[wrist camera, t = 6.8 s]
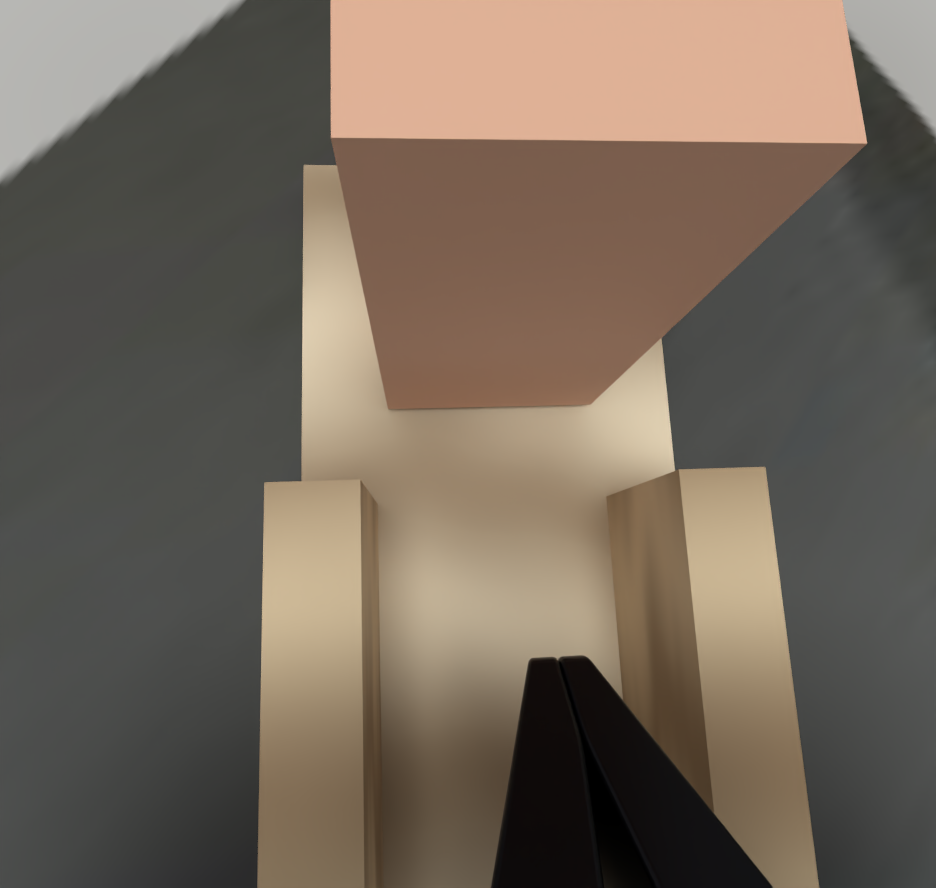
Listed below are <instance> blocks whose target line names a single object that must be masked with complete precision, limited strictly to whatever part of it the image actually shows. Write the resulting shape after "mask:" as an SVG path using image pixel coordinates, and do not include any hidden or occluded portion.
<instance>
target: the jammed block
mask: <svg viewBox="0 0 936 888" xmlns="http://www.w3.org/2000/svg"><path fill="white" fill-rule="evenodd" d="M331 140H332V145H333V150H334V154H335V159H336V164H337V169H338V173H339V178H340V183H341V188H342V192H343V197H344V202H345V207H346V211H347V216H348V221H349V226H350V231H351V235H352V240H353V245H354V250H355V254H356V259H357V264H358V269H359V273H360V278H361V283H362V288H363V293H364V297H365V302H366V307H367V312H368V316H369V321H370V326H371V331H372V335H373V340H374V345H375V350H376V354H377V359H378V364H379V369H380V374H381V378H382V383H383V388H384V393H385V397H386V402H387V407H388V409H415V408H460V407H504V406H548V405H591V404H592V403H593V402H594V401H595V400H596V399H597V398H598V397H599V396H600V395H601V394H602V393H603V392H604V391H606V390H607V389H608V388H609V387H610V386H611V385H612V384H613V383H614V382H615V381H616V380H617V379H618V378H619V377H620V376H621V375H622V374H624V373H625V372H626V371H627V370H628V369H629V368H630V367H631V366H632V365H633V364H634V363H635V362H636V361H637V360H638V359H639V358H640V357H642V356H643V355H644V354H645V353H646V352H647V351H648V350H649V349H650V348H651V347H652V346H653V345H654V344H655V343H656V342H657V341H658V340H660V339H661V338H662V337H663V336H664V335H665V334H666V333H667V332H668V331H669V330H670V329H671V328H672V327H673V326H674V325H675V324H676V323H678V322H679V321H680V320H681V319H682V318H683V317H684V316H685V315H686V314H687V313H688V312H689V311H690V310H691V309H692V308H693V307H694V306H696V305H697V304H698V303H699V302H700V301H701V300H702V299H703V298H704V297H705V296H706V295H707V294H708V293H709V292H710V291H711V290H713V289H714V288H715V287H716V286H717V285H718V284H719V283H720V282H721V281H722V280H723V279H724V278H725V277H726V276H727V275H728V274H729V273H731V272H732V271H733V270H734V269H735V268H736V267H737V266H738V265H739V264H740V263H741V262H742V261H743V260H744V259H745V258H746V257H747V256H749V255H750V254H751V253H752V252H753V251H754V250H755V249H756V248H757V247H758V246H759V245H760V244H761V243H762V242H763V241H764V240H765V239H767V238H768V237H769V236H770V235H771V234H772V233H773V232H774V231H775V230H776V229H777V228H778V227H779V226H780V225H781V224H782V223H783V222H785V221H786V220H787V219H788V218H789V217H790V216H791V215H792V214H793V213H794V212H795V211H796V210H797V209H798V208H799V207H800V206H801V205H803V204H804V203H805V202H806V201H807V200H808V199H809V198H810V197H811V196H812V195H813V194H814V193H815V192H816V191H817V190H818V189H819V188H821V187H822V186H823V185H824V184H825V183H826V182H827V181H828V180H829V179H830V178H831V177H832V176H833V175H834V174H835V173H836V172H837V171H839V170H840V169H841V168H842V167H843V166H844V165H845V164H846V163H847V162H848V161H849V160H850V159H851V158H852V157H853V156H854V155H855V154H857V153H858V152H859V151H860V150H861V149H862V148H863V147H864V146H865V145H866V144H867V140H866V134H865V128H864V123H863V117H862V111H861V105H860V100H859V94H858V88H857V82H856V77H855V71H854V65H853V60H852V54H851V48H850V42H849V37H848V31H847V25H846V19H845V14H844V8H843V3H842V0H331Z"/></svg>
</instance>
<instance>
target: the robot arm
mask: <svg viewBox="0 0 936 888" xmlns="http://www.w3.org/2000/svg"><path fill="white" fill-rule="evenodd" d="M491 888H773V887H772V885H771V884H770V882H769V881H768V880H767V879H766V877H765V876H764V875H763V874H762V872H761V871H760V870H759V869H758V868H757V866H756V865H755V864H754V863H753V861H752V860H751V859H750V858H749V856H748V855H747V854H746V853H745V851H744V850H743V849H742V848H741V846H740V845H739V844H738V843H737V841H736V840H735V839H734V838H733V836H732V835H731V834H730V833H729V831H728V830H727V829H726V828H725V826H724V825H723V824H722V823H721V821H720V820H719V819H718V818H717V817H716V815H715V814H714V813H713V812H712V810H711V809H710V808H709V807H708V805H707V804H706V803H705V802H704V800H703V799H702V798H701V797H700V795H699V794H698V793H697V792H696V790H695V789H694V788H693V787H692V785H691V784H690V783H689V782H688V780H687V779H686V778H685V777H684V775H683V774H682V773H681V772H680V770H679V769H678V768H677V767H676V765H675V764H674V763H673V762H672V761H671V759H670V758H669V757H668V756H667V754H666V753H665V752H664V751H663V749H662V748H661V747H660V746H659V744H658V743H657V742H656V741H655V739H654V738H653V737H652V736H651V734H650V733H649V732H648V731H647V729H646V728H645V727H644V726H643V724H642V723H641V722H640V721H639V719H638V718H637V717H636V716H635V714H634V713H633V712H632V711H631V710H630V708H629V707H628V706H627V705H626V703H625V702H624V701H623V700H622V698H621V697H620V696H619V695H618V693H617V692H616V691H615V690H614V688H613V687H612V686H611V685H610V683H609V682H608V681H607V680H606V678H605V677H604V676H603V675H602V673H601V672H600V671H599V670H598V668H597V667H596V666H595V665H594V663H593V662H592V661H591V660H590V659H589V658H588V657H586V656H584V655H575V656H562V657H560V658H559V659H558V660H557V659H556V658H555V657H538V658H531V659H530V660H529V661H528V666H527V672H526V678H525V684H524V690H523V696H522V702H521V708H520V714H519V720H518V726H517V732H516V738H515V744H514V750H513V756H512V762H511V768H510V774H509V780H508V786H507V792H506V798H505V804H504V810H503V816H502V822H501V828H500V835H499V841H498V847H497V853H496V859H495V865H494V871H493V877H492V883H491Z"/></svg>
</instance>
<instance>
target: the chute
mask: <svg viewBox="0 0 936 888" xmlns="http://www.w3.org/2000/svg"><path fill="white" fill-rule="evenodd" d="M575 655H584V656H586V657H588V658H589V659H590V660H591V661H592V662H593V663H594V665H595V666H596V667H597V668H598V670H599V671H600V672H601V673H602V675H603V676H604V677H605V678H606V680H607V681H608V682H609V683H610V685H611V686H612V687H613V688H614V690H615V691H616V692H617V693H618V695H619V696H620V697H621V698H622V700H623V701H624V702H625V703H626V705H627V706H628V707H629V708H630V710H631V711H632V712H633V713H634V714H635V716H636V717H637V718H638V719H639V721H640V722H641V723H642V724H643V726H644V727H645V728H646V729H647V731H648V732H649V733H650V734H651V736H652V737H653V738H654V739H655V741H656V742H657V743H658V744H659V746H660V747H661V748H662V749H663V751H664V752H665V753H666V754H667V756H668V757H669V758H670V759H671V761H672V762H673V763H674V764H675V765H676V767H677V768H678V769H679V770H680V772H681V773H682V774H683V775H684V777H685V778H686V779H687V780H688V782H689V783H690V784H691V785H692V787H693V788H694V789H695V790H696V792H697V793H698V794H699V795H700V797H701V798H702V799H703V800H704V802H705V803H706V804H707V805H708V807H709V808H710V809H711V810H712V812H713V813H714V814H715V815H716V817H717V818H718V819H719V820H720V821H721V823H722V824H723V825H724V826H725V828H726V829H727V830H728V831H729V833H730V834H731V835H732V836H733V838H734V839H735V840H736V841H737V843H738V844H739V845H740V846H741V848H742V849H743V850H744V851H745V853H746V854H747V855H748V856H749V858H750V859H751V860H752V861H753V863H754V864H755V865H756V866H757V868H758V869H759V870H760V871H761V872H762V874H763V875H764V876H765V877H766V879H767V880H768V881H769V882H770V884H771V885H772V887H773V888H819V882H818V874H817V867H816V859H815V851H814V843H813V835H812V828H811V820H810V812H809V804H808V796H807V789H806V781H805V773H804V765H803V757H802V750H801V742H800V734H799V726H798V718H797V711H796V703H795V695H794V687H793V679H792V672H791V664H790V656H789V648H788V640H787V633H786V625H785V617H784V609H783V601H782V594H781V586H780V578H779V570H778V562H777V555H776V547H775V539H774V531H773V523H772V516H771V508H770V500H769V492H768V484H767V477H766V469H765V467H745V468H712V469H680V470H676V471H675V467H674V457H673V448H672V438H671V428H670V418H669V408H668V399H667V389H666V379H665V369H664V359H663V349H662V340H661V339H660V340H658V341H657V342H656V343H655V344H654V345H653V346H652V347H651V348H650V349H649V350H648V351H647V352H646V353H645V354H644V355H643V356H642V357H640V358H639V359H638V360H637V361H636V362H635V363H634V364H633V365H632V366H631V367H630V368H629V369H628V370H627V371H626V372H625V373H624V374H622V375H621V376H620V377H619V378H618V379H617V380H616V381H615V382H614V383H613V384H612V385H611V386H610V387H609V388H608V389H607V390H606V391H604V392H603V393H602V394H601V395H600V396H599V397H598V398H597V399H596V400H595V401H594V402H593V403H592V404H591V405H548V406H504V407H460V408H415V409H388V407H387V402H386V397H385V393H384V388H383V383H382V378H381V374H380V369H379V364H378V359H377V354H376V350H375V345H374V340H373V335H372V331H371V326H370V321H369V316H368V312H367V307H366V302H365V297H364V293H363V288H362V283H361V278H360V273H359V269H358V264H357V259H356V254H355V250H354V245H353V240H352V235H351V231H350V226H349V221H348V216H347V211H346V207H345V202H344V197H343V192H342V188H341V183H340V178H339V173H338V169H337V165H304V193H303V340H302V481H294V482H264V538H263V595H262V652H261V709H260V766H259V823H258V880H257V888H491V883H492V877H493V871H494V865H495V859H496V853H497V847H498V841H499V835H500V828H501V822H502V816H503V810H504V804H505V798H506V792H507V786H508V780H509V774H510V768H511V762H512V756H513V750H514V744H515V738H516V732H517V726H518V720H519V714H520V708H521V702H522V696H523V690H524V684H525V678H526V672H527V666H528V661H529V660H530V659H531V658H538V657H555V658H556V659H557V660H558V659H559V658H560V657H562V656H575Z"/></svg>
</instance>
